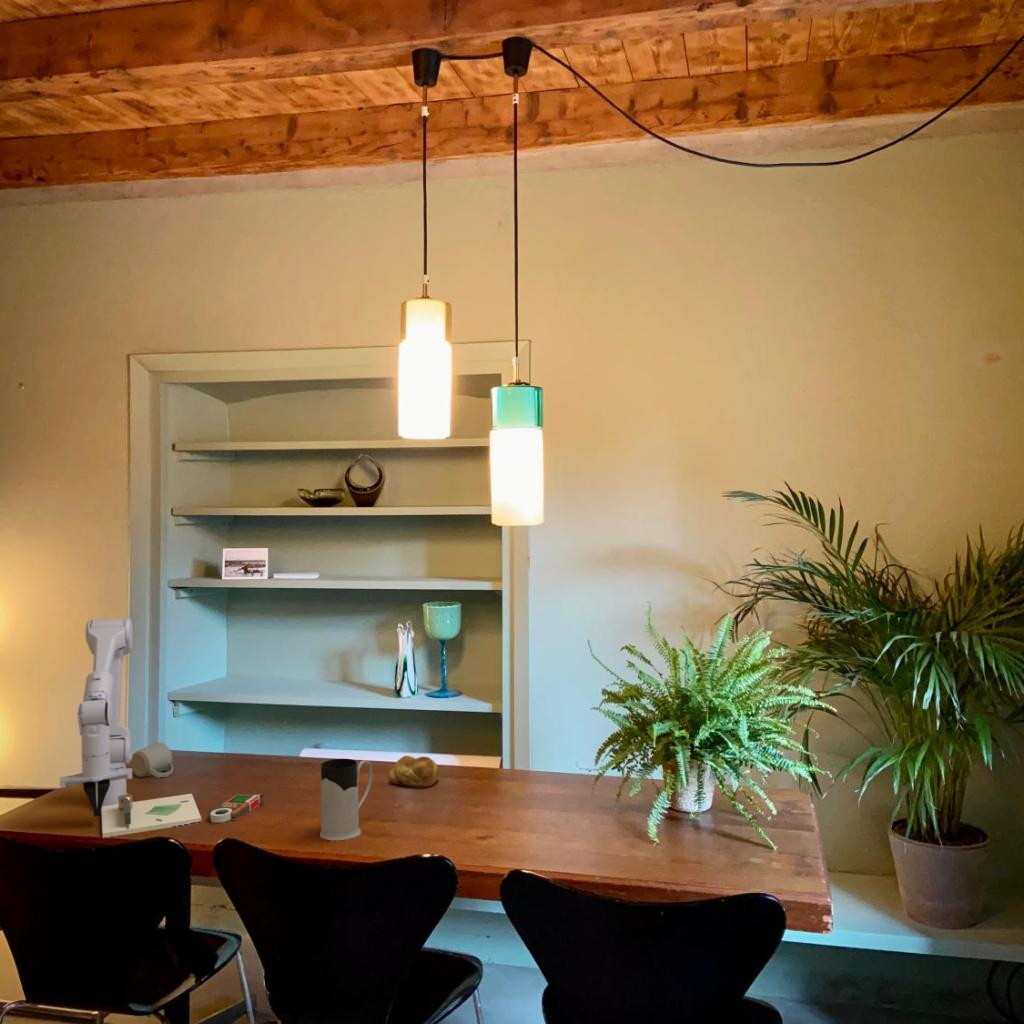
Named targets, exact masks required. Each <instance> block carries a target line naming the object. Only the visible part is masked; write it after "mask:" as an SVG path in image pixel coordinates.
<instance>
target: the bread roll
mask: <svg viewBox="0 0 1024 1024" xmlns="http://www.w3.org/2000/svg"><path fill="white" fill-rule="evenodd" d="M388 772H389V773H388V779H389V781H390V782H391V783H393V784H394V785H398V786H406V787H409V788H414V789H415V788H416V789H417V788H422V789H423V788H427V787H431V786H432V785H434V784H435V783H436V782H437V780H438V779H439V775H440V774H439V767H438V765H437V763H436V762H435V761H434V760H433V759H432V758H431V757H429V756H419V757H417V758H415V757H413V756H410V755H404V756H402V757H400V758H399V759H397V761H396V762H395V764H394V767H393V768H392V769H390V771H388Z"/></svg>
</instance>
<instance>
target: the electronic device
mask: <svg viewBox="0 0 1024 1024" xmlns="http://www.w3.org/2000/svg"><path fill="white" fill-rule="evenodd" d="M263 802H264V794H263V793H260V792H259V793H257V792H244V791H242V792H241V791H238V792H236V793H234V794H233V795H232V796H230V797H229V798H227V799H226V800H224V801H223V802H222V803H220V804H218V805H216V806H215V807H213V808H212V809H210V810H209V815H208V816H209V819H210V818H211V820H210V822H211V821H212V822H217V823H218V822H225V821H228V820H230V819H237V818H239V817H240V816H242V815H243V814H245V813H247V812H249V811H251V810H253V809H254V808H256V807H257V806H259V805H260V804H261V805H263V804H264V803H263ZM262 803H263V804H262ZM261 805H260V806H261ZM260 806H259V807H260Z"/></svg>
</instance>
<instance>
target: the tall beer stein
mask: <svg viewBox="0 0 1024 1024" xmlns="http://www.w3.org/2000/svg"><path fill="white" fill-rule="evenodd" d="M364 763H367V765H368V771H369V772H368V774H369V775H368V781H367V785H366V787H365V792H364V794H363V796H362V798H361V799H360V801H359V785H358V783H359V781H360V771H361V767H362V765H363V764H364ZM320 778H321V779H320V818H321V820H320V821H321V822H320V825H321V827H320V828H321V829H320V833H319V835H320V836H321V837H322V838H324V839H327V840H345V839H346V841H348V840H347V839H350V840H352V839H351V838H354V839H356V838H358V837H359V836H360V835H362V830H361V829H360V820H359V819H360V818H359V813H360V812H359V811H360V808H361V807H362V805H363V804H364V801H366V798H367V797H368V794H369V793H370V792H369V791H370V789H371V785H372V778H373V765H372V763H371V762H370V761H369V760H362V761H360V762H359V763H358V761H356V760H355V759H351V758H334V759H329V760H326V761H324V762H322V763H321V764H320ZM357 836H358V837H357ZM355 837H356V838H355Z"/></svg>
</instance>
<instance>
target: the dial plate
mask: <svg viewBox="0 0 1024 1024" xmlns="http://www.w3.org/2000/svg"><path fill="white" fill-rule="evenodd" d="M130 812H131V824H128V825H125V823H124V815H123V811H120V810H118V804H117V805H110V806H103V807H102V809H101V831H102V832H101V834H102V839H104V838H105V837H106V838H112V837H111V836H113V837H118V835H119V836H123V835H131V834H137V833H144V832H149V831H150V832H151V831H155V830H161V829H162V830H163V829H169V828H174V827H173V826H176V827H179V826H178V825H182V826H185V825H184V824H188V825H191V824H190V823H193V822H199V821H201V822H202V815H201V813H200V811H199V809H198V806H197V803H196V801H195V798H194V796H193V793H188V794H187V793H185V794H180V795H172V796H167V797H166V796H165V797H157V798H152V799H146V800H145V799H144V800H139V801H133V808H132V809H130Z"/></svg>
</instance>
